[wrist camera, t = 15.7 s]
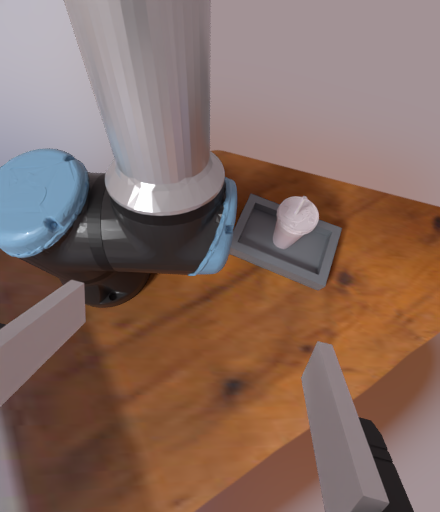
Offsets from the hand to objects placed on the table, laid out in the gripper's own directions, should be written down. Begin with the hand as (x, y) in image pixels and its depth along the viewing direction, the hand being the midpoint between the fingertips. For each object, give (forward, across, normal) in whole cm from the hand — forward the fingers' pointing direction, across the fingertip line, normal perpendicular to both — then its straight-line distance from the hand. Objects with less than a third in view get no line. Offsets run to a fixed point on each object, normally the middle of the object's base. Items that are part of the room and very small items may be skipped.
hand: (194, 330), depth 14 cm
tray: (+36, +9, -6) cm, 38 cm away
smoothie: (+36, +9, -5) cm, 37 cm away
